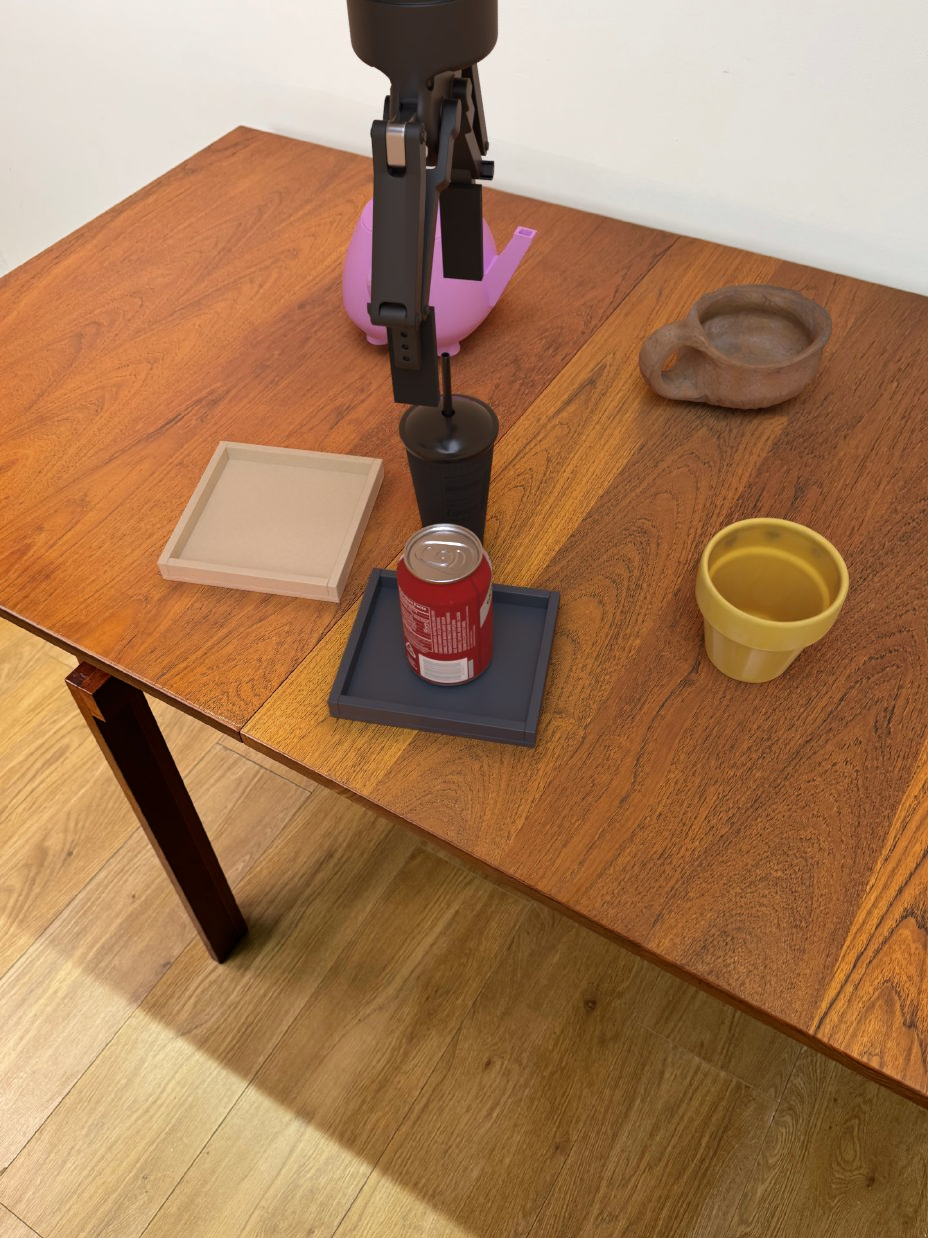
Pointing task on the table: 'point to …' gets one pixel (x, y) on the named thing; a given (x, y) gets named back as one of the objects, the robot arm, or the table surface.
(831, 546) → the flower pot
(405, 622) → the soda can
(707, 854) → the table surface
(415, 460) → the drinking cup
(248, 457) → the cup tray
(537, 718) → the can tray
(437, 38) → the robot arm
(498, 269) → the teapot
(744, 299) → the bowl
